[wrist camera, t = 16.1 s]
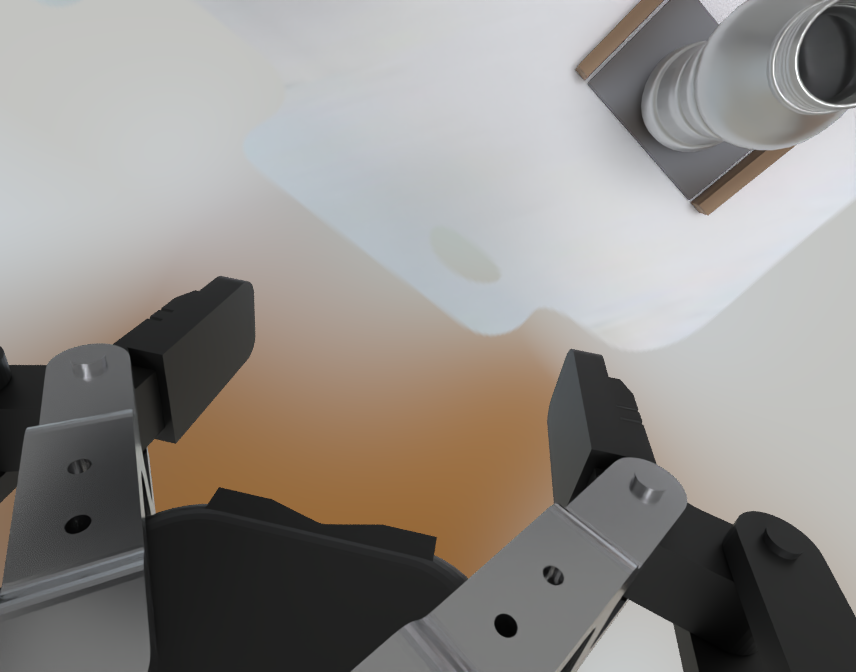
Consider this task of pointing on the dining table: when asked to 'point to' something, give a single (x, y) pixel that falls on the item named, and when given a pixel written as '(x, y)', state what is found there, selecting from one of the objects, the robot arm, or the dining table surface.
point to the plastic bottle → (757, 78)
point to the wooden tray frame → (626, 85)
